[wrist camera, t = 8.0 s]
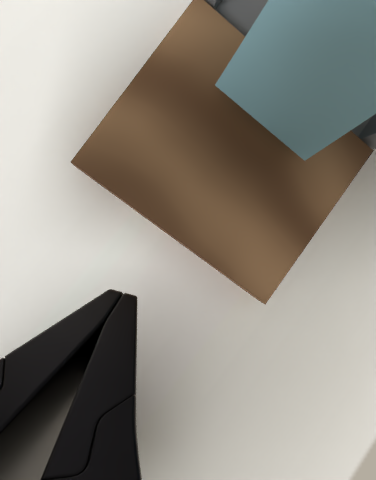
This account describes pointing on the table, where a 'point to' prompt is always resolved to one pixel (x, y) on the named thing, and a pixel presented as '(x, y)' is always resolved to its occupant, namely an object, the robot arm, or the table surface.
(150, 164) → the board
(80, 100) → the table surface
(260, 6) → the box
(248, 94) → the block
